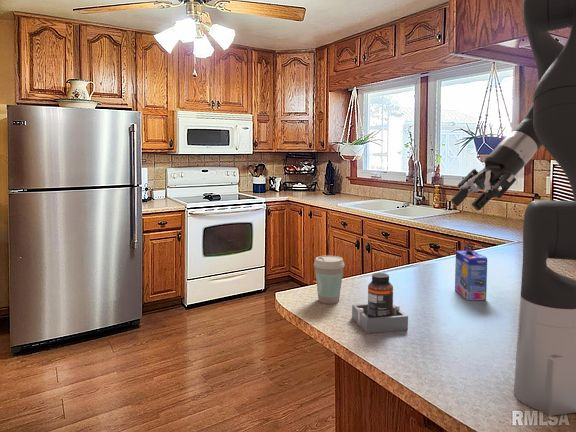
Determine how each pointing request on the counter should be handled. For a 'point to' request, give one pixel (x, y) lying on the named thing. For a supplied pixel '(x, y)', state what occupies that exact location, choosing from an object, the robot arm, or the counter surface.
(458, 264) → the ink cartridge box
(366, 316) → the tray
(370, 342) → the counter surface
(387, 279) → the supplement bottle
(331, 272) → the coffee cup
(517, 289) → the counter surface
